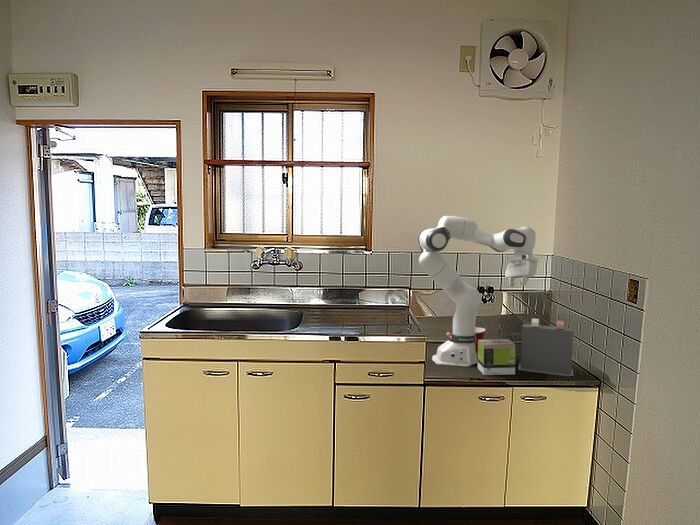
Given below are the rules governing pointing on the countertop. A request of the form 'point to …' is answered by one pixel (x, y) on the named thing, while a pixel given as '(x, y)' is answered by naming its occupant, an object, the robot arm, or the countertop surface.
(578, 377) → the countertop surface
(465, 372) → the countertop surface
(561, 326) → the terracotta key
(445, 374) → the countertop surface
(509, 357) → the tea box
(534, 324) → the ivory key
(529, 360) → the panel
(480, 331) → the plastic cup
